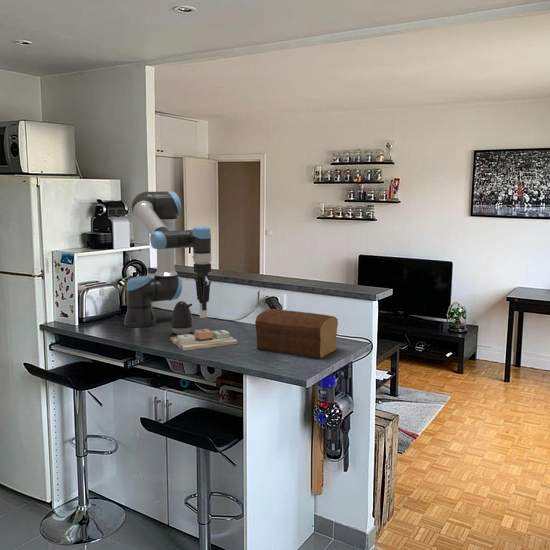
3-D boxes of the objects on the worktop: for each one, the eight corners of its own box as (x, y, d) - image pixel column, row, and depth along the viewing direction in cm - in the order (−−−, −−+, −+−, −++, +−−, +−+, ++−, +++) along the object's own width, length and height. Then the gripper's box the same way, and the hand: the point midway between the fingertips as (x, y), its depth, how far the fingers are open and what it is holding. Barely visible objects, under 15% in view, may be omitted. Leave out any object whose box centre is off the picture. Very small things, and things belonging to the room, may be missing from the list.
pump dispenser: (187, 337, 260) (186, 303, 257) (166, 335, 263) (166, 302, 261) (197, 332, 269) (197, 299, 267) (177, 330, 272) (177, 298, 270)
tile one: (177, 341, 248) (176, 335, 248) (190, 340, 251) (190, 333, 251) (181, 344, 243) (181, 338, 243) (195, 343, 246) (195, 336, 245)
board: (170, 340, 253) (170, 337, 253) (221, 334, 264) (220, 331, 264) (184, 350, 237) (184, 347, 237) (237, 343, 249) (237, 340, 248)
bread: (319, 360, 225) (320, 320, 222) (254, 350, 239) (254, 312, 237) (338, 349, 240) (339, 311, 238) (275, 340, 255) (276, 304, 253)
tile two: (194, 336, 252) (194, 330, 251) (207, 334, 255) (207, 328, 254) (199, 339, 247) (199, 333, 246) (212, 337, 249) (212, 331, 249)
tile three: (211, 337, 256) (211, 331, 255) (224, 335, 259) (224, 329, 258) (216, 340, 250) (216, 334, 250) (229, 338, 253) (229, 332, 253)
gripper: (188, 261, 250) (189, 315, 253) (199, 265, 238) (200, 321, 242) (204, 261, 253) (205, 313, 256) (216, 264, 242) (217, 319, 245)
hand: (203, 317), depth 249 cm, fingers closed
